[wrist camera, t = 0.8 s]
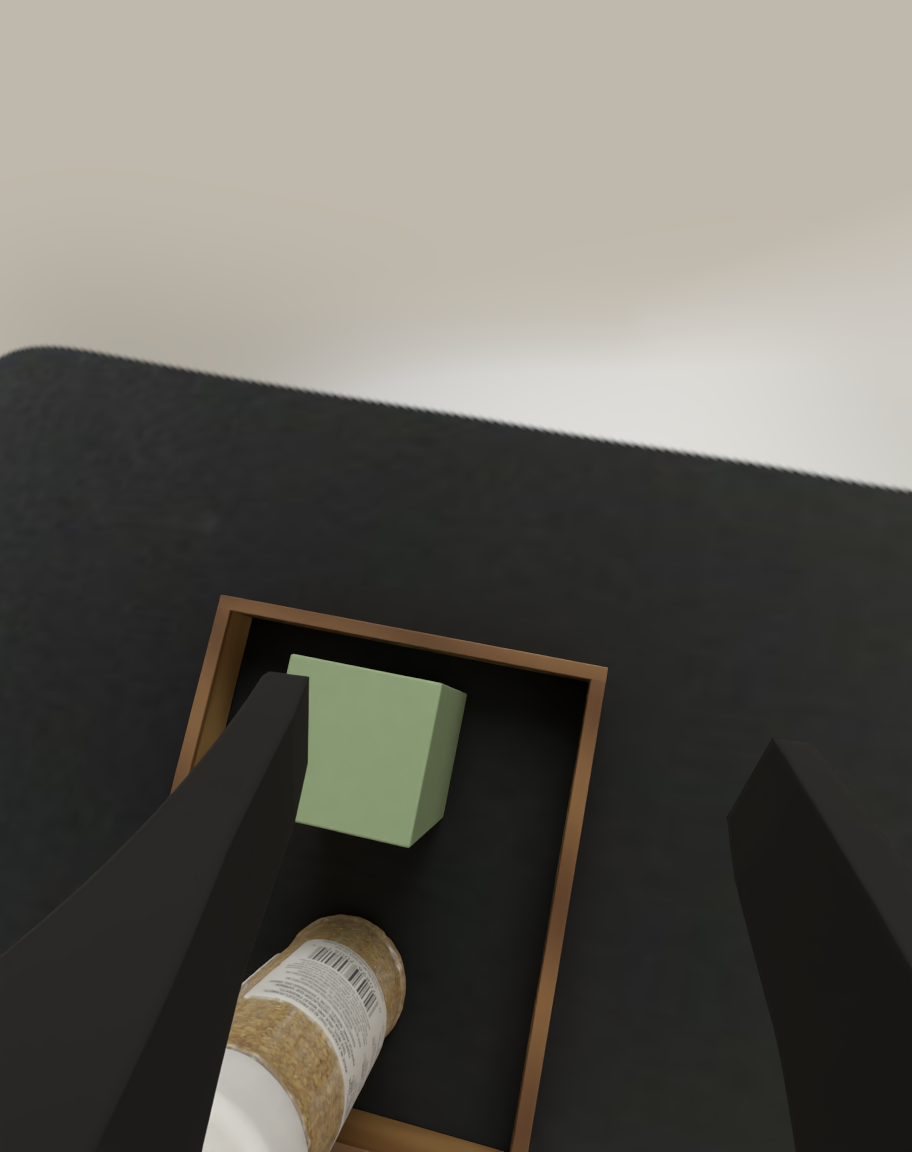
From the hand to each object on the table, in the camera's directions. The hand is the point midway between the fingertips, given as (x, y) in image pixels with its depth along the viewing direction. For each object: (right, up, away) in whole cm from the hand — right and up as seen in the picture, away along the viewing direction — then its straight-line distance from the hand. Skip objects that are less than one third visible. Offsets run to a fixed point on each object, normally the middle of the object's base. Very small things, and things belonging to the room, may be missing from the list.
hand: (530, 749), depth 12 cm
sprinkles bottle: (-5, -11, +15) cm, 19 cm away
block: (-3, -3, +16) cm, 17 cm away
